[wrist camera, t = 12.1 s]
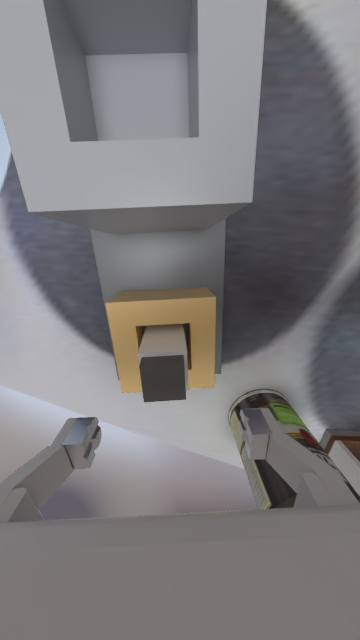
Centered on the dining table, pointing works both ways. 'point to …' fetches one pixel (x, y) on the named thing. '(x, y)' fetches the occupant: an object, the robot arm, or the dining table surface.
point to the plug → (163, 363)
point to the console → (139, 149)
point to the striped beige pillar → (344, 453)
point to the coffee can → (260, 473)
